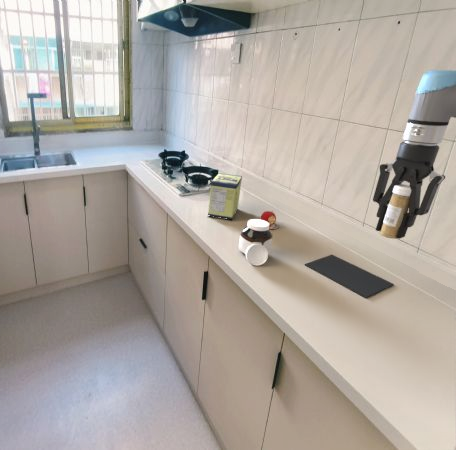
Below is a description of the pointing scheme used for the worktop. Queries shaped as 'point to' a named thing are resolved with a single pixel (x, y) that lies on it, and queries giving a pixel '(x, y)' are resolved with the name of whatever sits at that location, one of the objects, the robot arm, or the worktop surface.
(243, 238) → the spread jar
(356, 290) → the mat
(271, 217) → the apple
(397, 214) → the spice jar
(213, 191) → the protein box
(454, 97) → the robot arm
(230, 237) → the worktop surface
